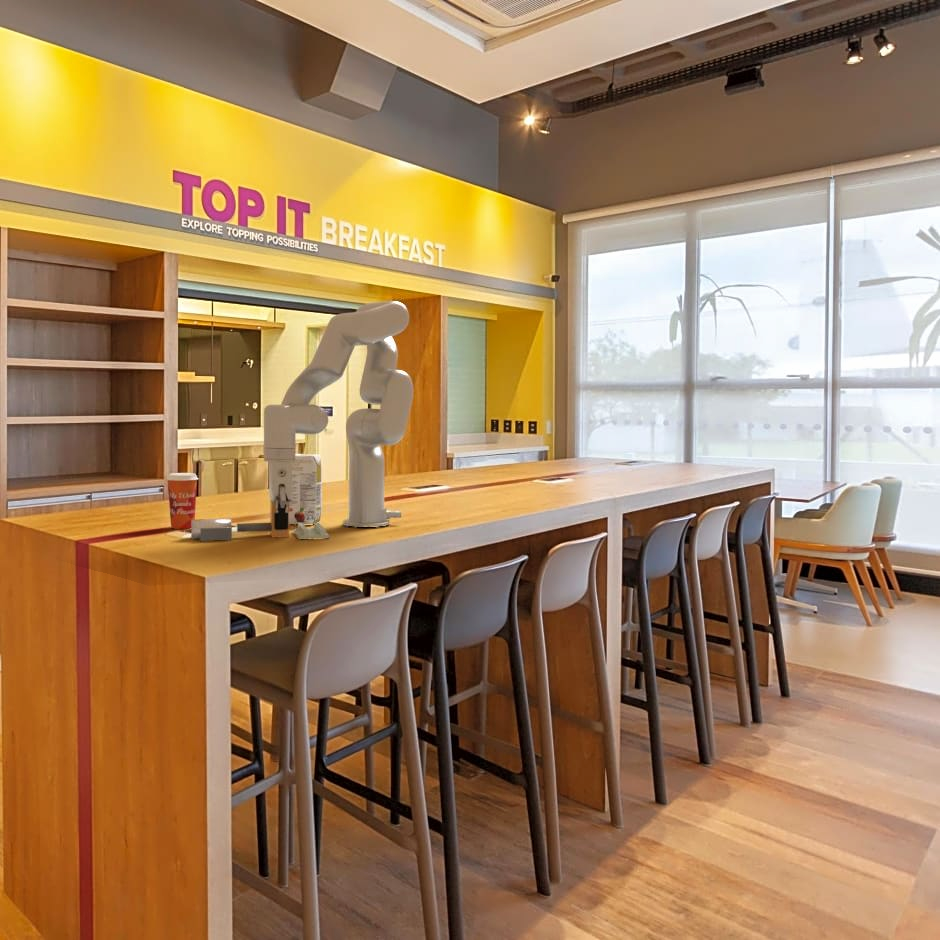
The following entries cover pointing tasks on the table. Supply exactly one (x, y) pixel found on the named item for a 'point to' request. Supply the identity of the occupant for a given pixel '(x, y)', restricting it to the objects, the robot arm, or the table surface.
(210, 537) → the channel block
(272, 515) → the grey base tan upright
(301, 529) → the cradle
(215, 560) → the table surface
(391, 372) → the robot arm
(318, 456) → the juice carton
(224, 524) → the axle
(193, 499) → the paper cup
